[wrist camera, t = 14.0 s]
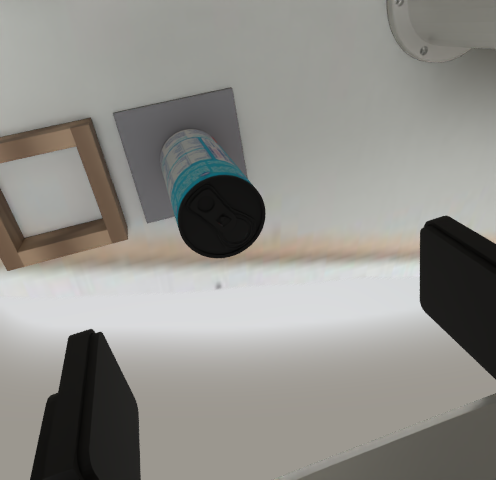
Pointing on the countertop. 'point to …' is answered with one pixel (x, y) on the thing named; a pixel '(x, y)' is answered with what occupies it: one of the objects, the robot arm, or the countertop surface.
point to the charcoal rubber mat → (162, 128)
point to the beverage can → (210, 195)
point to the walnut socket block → (71, 238)
